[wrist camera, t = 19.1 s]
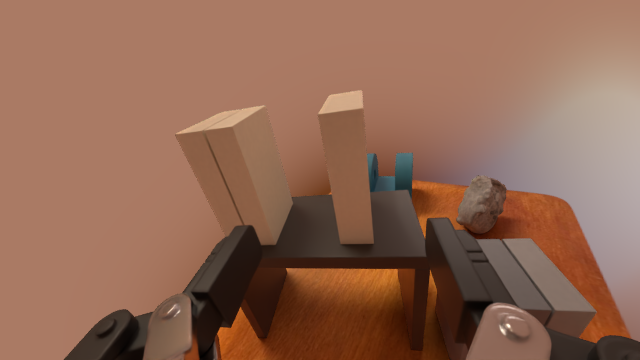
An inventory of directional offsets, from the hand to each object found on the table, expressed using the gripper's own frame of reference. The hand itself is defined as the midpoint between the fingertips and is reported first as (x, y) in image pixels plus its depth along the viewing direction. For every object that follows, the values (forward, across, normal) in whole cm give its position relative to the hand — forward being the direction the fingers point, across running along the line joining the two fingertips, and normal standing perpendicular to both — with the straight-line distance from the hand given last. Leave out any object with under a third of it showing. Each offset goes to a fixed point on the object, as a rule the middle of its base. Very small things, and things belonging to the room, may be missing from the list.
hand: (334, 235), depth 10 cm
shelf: (+11, +4, +23) cm, 26 cm away
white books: (+11, +10, +8) cm, 17 cm away
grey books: (+7, -12, +23) cm, 27 cm away
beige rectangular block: (+11, 0, +8) cm, 13 cm away
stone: (+25, -20, +23) cm, 39 cm away
